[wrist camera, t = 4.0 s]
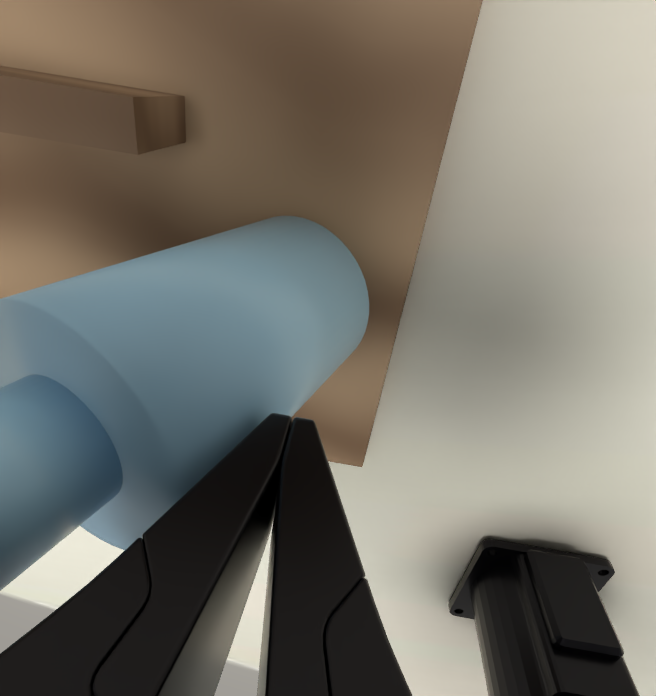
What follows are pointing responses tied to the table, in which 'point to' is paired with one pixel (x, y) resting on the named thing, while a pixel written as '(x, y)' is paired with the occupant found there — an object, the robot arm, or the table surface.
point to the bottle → (160, 375)
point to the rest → (230, 143)
